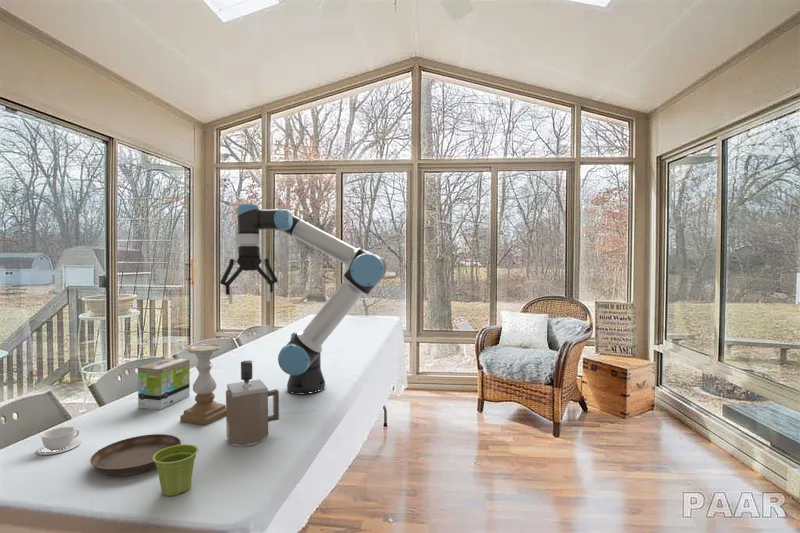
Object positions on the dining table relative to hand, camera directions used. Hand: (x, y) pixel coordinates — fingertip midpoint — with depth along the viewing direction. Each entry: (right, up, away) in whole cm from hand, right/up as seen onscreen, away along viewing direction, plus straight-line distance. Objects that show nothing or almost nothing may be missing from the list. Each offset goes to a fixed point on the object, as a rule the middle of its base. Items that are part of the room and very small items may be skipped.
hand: (249, 302), depth 160 cm
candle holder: (-9, -38, -16) cm, 42 cm away
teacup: (-41, -39, -38) cm, 68 cm away
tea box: (-31, -37, -1) cm, 48 cm away
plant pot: (+4, -39, -59) cm, 71 cm away
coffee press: (+12, -38, -31) cm, 50 cm away
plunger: (+11, -37, -32) cm, 50 cm away
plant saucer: (-14, -39, -45) cm, 61 cm away
